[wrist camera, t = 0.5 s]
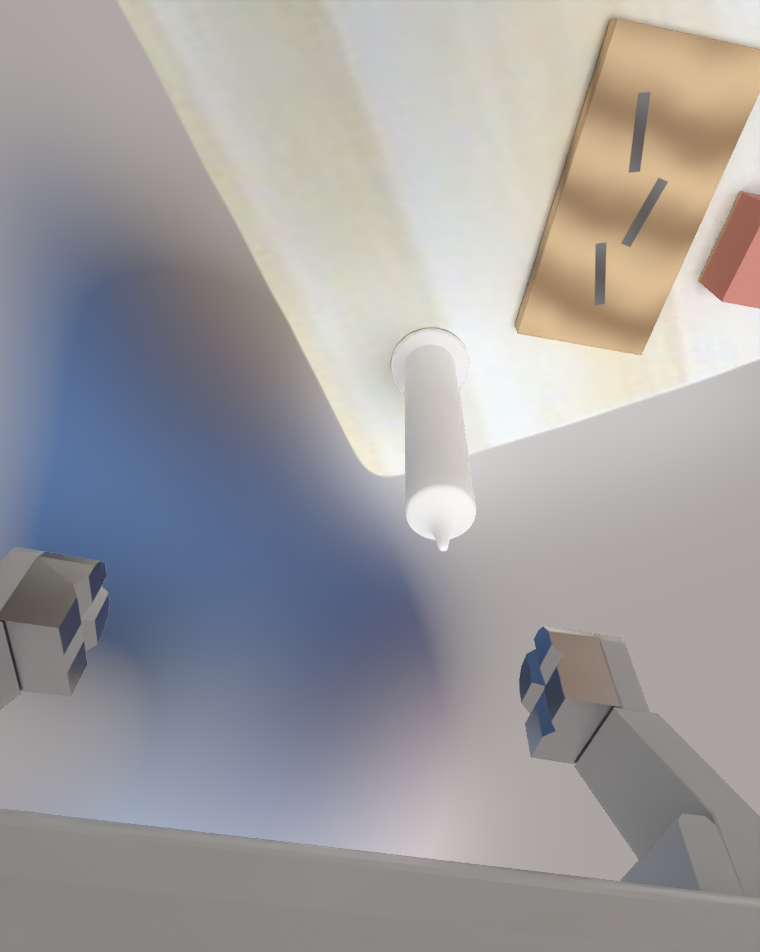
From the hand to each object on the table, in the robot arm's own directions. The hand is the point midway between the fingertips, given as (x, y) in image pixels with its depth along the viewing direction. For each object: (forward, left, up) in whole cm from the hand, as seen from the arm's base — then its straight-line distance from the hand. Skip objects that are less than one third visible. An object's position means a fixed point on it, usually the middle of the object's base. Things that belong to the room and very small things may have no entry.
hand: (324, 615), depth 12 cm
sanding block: (0, +29, -45) cm, 54 cm away
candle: (+15, +7, -45) cm, 48 cm away
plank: (-1, +19, -45) cm, 48 cm away
